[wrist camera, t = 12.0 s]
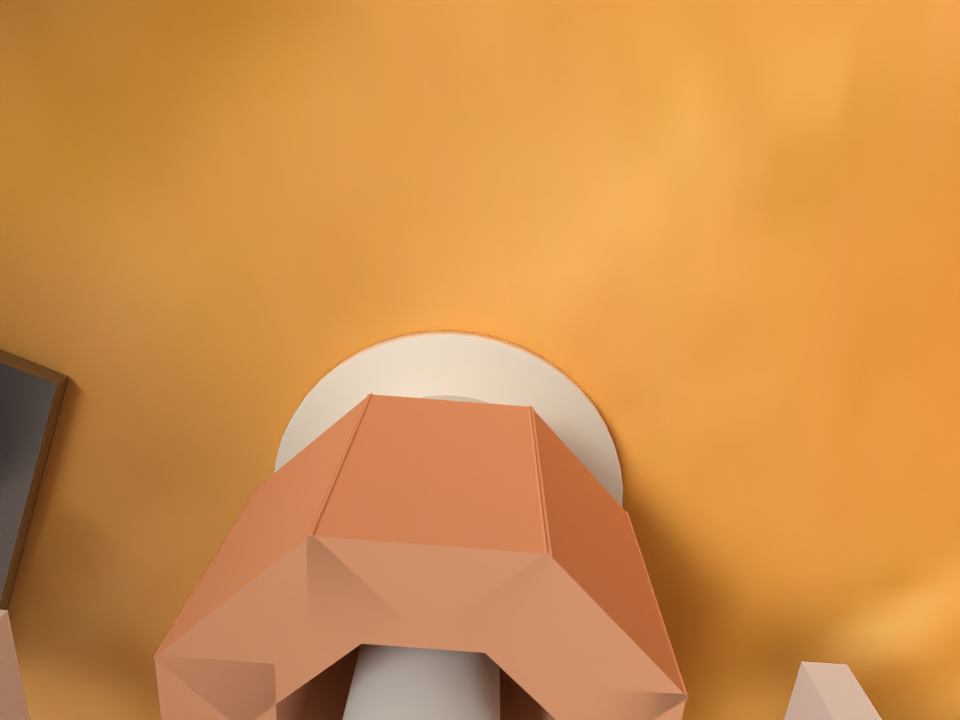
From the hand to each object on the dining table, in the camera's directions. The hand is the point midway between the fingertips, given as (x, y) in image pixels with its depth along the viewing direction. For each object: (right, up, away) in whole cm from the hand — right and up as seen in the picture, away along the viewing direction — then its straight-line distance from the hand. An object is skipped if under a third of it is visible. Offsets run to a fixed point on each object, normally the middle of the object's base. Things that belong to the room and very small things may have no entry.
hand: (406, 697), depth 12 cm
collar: (0, +1, +4) cm, 4 cm away
